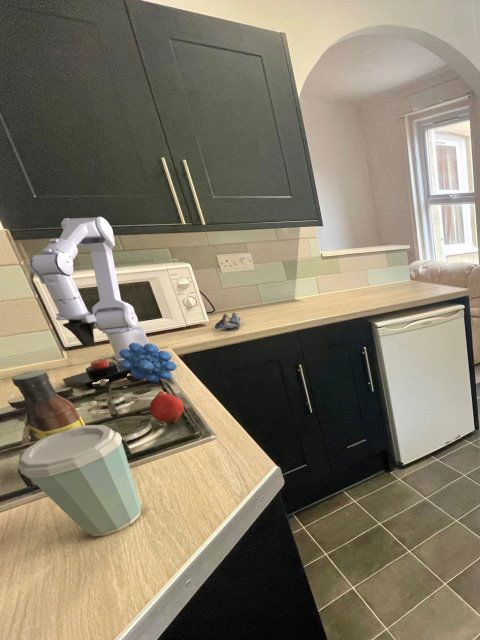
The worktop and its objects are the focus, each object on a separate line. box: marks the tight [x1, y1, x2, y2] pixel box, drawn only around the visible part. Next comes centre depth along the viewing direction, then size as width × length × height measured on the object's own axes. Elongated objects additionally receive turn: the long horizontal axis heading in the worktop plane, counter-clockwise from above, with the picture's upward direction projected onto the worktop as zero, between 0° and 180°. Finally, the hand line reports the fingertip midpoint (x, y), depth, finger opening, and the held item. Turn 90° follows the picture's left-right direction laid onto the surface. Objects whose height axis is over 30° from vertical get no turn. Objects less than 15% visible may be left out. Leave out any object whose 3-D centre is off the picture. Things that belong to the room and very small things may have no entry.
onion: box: [149, 390, 185, 424], centre depth 93 cm, size 6×6×8 cm
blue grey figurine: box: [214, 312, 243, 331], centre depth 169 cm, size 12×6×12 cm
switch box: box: [62, 361, 131, 391], centre depth 122 cm, size 14×11×4 cm
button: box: [90, 359, 109, 369], centre depth 121 cm, size 4×4×2 cm
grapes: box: [119, 343, 178, 384], centre depth 115 cm, size 12×7×12 cm, turn 118°
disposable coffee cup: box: [17, 424, 142, 538], centre depth 62 cm, size 11×11×15 cm
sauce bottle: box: [11, 369, 86, 442], centre depth 75 cm, size 7×6×20 cm
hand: (89, 345), depth 122 cm, fingers closed
